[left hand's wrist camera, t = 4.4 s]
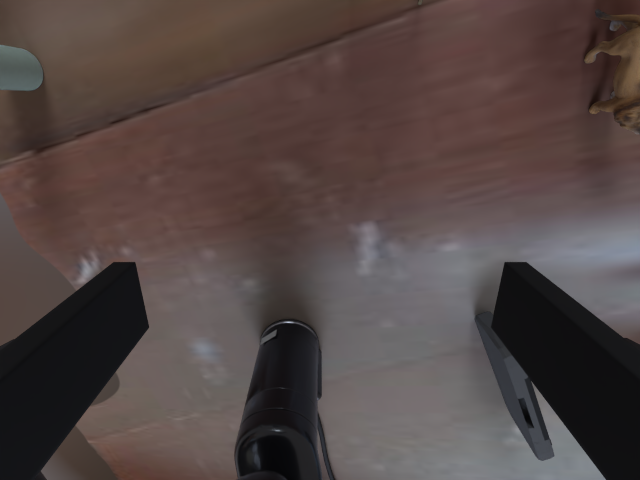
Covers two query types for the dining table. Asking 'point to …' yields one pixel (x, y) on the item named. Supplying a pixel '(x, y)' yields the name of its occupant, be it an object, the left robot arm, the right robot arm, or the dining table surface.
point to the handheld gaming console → (516, 390)
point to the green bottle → (19, 69)
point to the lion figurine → (622, 71)
